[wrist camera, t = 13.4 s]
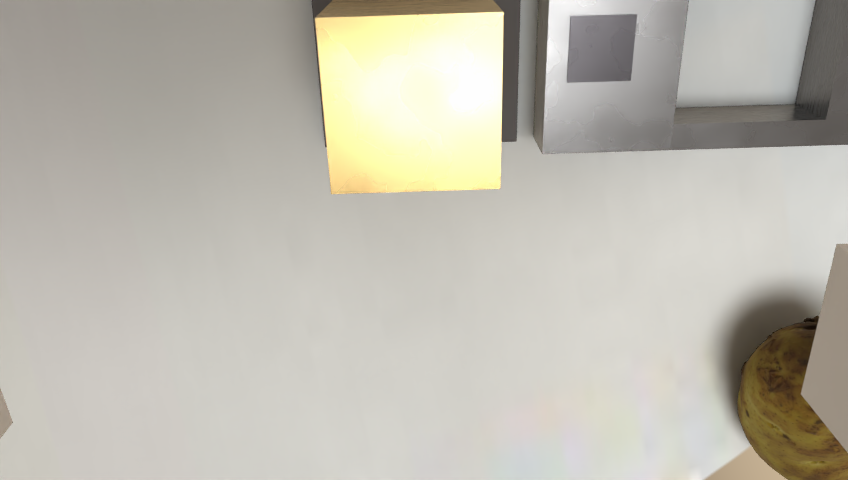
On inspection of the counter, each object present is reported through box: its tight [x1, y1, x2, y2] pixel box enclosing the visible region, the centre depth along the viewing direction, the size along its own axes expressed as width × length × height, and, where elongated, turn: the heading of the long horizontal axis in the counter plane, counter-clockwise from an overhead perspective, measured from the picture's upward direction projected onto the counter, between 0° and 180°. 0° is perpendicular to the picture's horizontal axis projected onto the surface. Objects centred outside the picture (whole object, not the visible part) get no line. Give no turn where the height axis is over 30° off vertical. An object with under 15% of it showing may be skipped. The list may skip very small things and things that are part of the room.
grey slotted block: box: [533, 0, 848, 154], centre depth 33 cm, size 20×10×3 cm, turn 92°
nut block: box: [315, 0, 504, 194], centre depth 29 cm, size 6×6×12 cm
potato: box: [738, 316, 848, 480], centre depth 40 cm, size 8×13×8 cm, turn 1°
